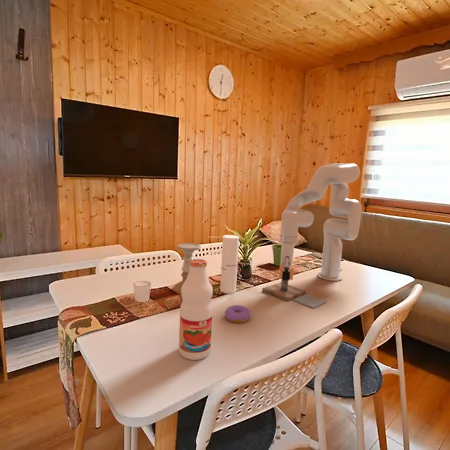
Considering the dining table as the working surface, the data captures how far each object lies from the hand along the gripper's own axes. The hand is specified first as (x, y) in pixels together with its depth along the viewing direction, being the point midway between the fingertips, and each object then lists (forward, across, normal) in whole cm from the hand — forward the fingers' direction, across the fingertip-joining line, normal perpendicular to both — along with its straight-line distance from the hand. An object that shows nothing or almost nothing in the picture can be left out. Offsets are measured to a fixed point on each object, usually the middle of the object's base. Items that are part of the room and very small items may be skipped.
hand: (285, 277), depth 145 cm
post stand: (+7, +1, 0) cm, 7 cm away
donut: (+7, +32, -16) cm, 37 cm away
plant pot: (+8, -45, -4) cm, 46 cm away
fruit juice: (+6, +58, -25) cm, 63 cm away
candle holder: (+7, +11, -43) cm, 45 cm away
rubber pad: (+7, +7, +11) cm, 15 cm away
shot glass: (+6, +28, -57) cm, 64 cm away
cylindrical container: (+7, +6, -25) cm, 27 cm away
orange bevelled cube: (0, 0, 0) cm, 0 cm away
